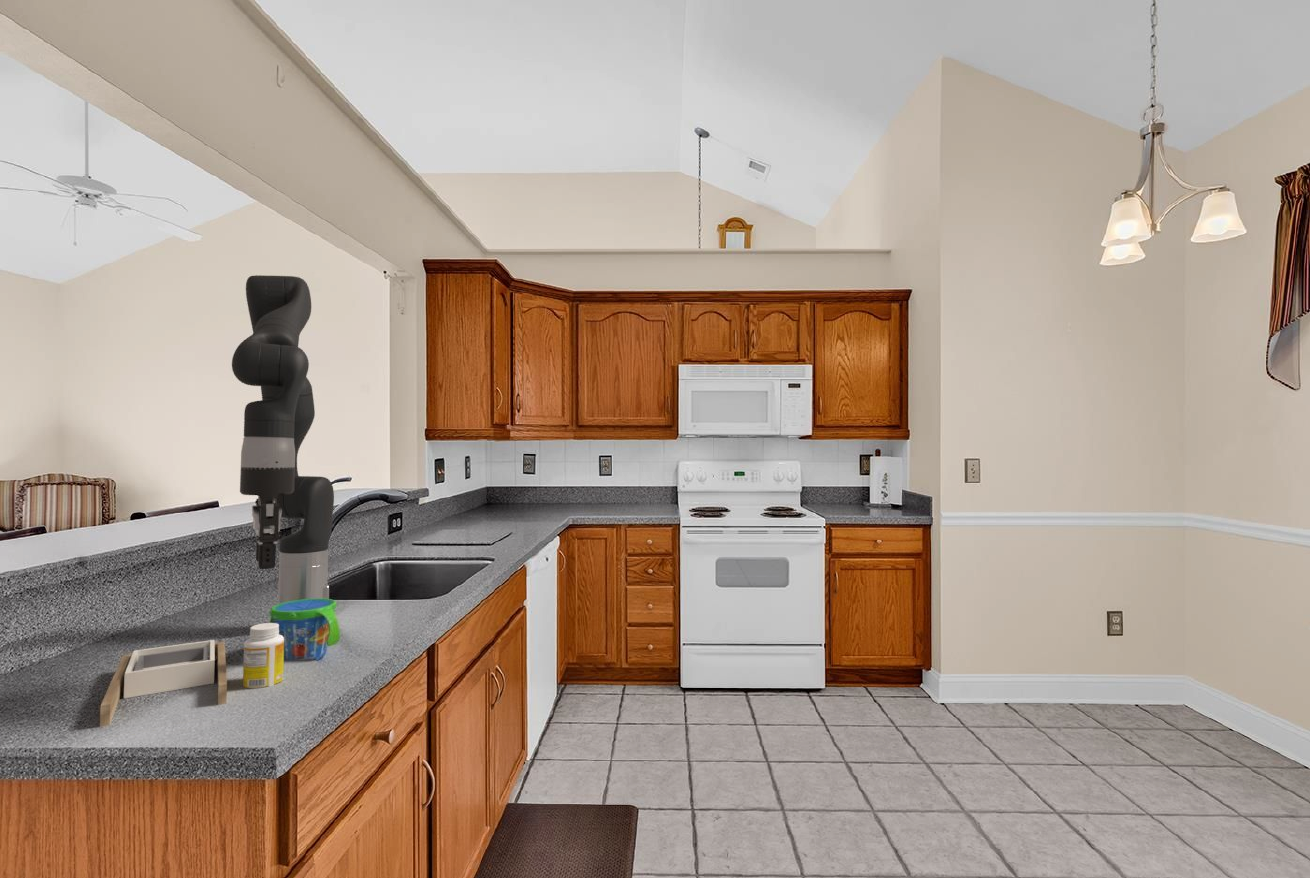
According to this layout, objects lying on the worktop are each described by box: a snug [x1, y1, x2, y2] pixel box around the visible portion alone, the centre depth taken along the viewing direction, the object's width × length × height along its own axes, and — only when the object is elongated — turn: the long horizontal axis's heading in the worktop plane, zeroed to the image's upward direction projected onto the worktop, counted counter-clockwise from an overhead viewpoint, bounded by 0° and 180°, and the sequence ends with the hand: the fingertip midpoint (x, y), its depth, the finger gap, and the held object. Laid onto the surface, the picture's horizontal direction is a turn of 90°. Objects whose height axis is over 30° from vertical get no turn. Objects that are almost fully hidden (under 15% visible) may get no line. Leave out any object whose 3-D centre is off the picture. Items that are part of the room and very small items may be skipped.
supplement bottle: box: [242, 622, 285, 689], centre depth 99 cm, size 6×6×10 cm
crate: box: [123, 639, 216, 699], centre depth 100 cm, size 11×13×4 cm
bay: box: [99, 640, 228, 728], centre depth 97 cm, size 14×25×4 cm, turn 36°
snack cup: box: [269, 598, 341, 661], centre depth 114 cm, size 16×10×10 cm
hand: (265, 564), depth 100 cm, fingers open, 8 cm apart
